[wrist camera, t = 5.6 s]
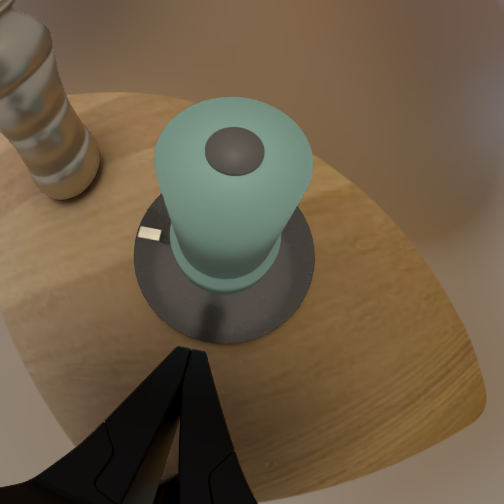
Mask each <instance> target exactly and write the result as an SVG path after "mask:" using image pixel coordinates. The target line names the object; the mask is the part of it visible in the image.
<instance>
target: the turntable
mask: <svg viewBox="0 0 504 504" xmlns="http://www.w3.org/2000/svg"><path fill="white" fill-rule="evenodd" d="M170 228H171V220H170V217H169V214H168V211H167V208H166V204H165V201H164V198H163V195H162V194H161V195H160V196H159V197H158V198H157V199H156V200H155V201H154V202H153V203H152V205H151V206H150V207H149V209H148V210H147V212H146V214H145V215H144V217H143V219H142V221H141V224H140V226H139V228H138V232H137V236H136V239H135V247H134V266H135V272H136V277H137V280H138V283H139V286H140V289H141V291H142V293H143V295H144V297H145V299H146V300H147V302H148V303H149V305H150V307H151V308H152V309H153V310H154V311H155V313H156V314H157V315H158V316H159V317H160V318H161V319H162V320H163V321H165V322H166V323H167V324H168V325H169V326H171V327H172V328H174V329H175V330H177V331H179V332H180V333H182V334H185V335H187V336H189V337H191V338H194V339H197V340H200V341H204V342H210V343H217V344H232V343H241V342H245V341H249V340H253V339H256V338H259V337H261V336H263V335H266V334H268V333H269V332H271V331H273V330H275V329H276V328H278V327H279V326H280V325H282V324H283V323H284V322H285V321H287V320H288V319H289V317H290V316H291V315H292V314H293V313H294V312H295V311H296V310H297V308H298V307H299V306H300V304H301V303H302V301H303V299H304V297H305V296H306V294H307V292H308V289H309V286H310V284H311V281H312V276H313V272H314V262H315V253H314V244H313V239H312V235H311V232H310V229H309V226H308V224H307V222H306V219H305V217H304V216H303V214H302V212H301V211H300V209H299V208H298V206H297V207H296V209H295V210H294V212H293V214H292V216H291V217H290V219H289V221H288V222H287V224H286V226H285V227H284V229H283V231H282V233H281V243H280V248H279V252H278V254H277V256H276V259H275V260H274V262H273V264H272V265H271V267H270V268H269V269H268V271H267V272H266V274H265V275H264V276H263V277H262V279H261V280H259V281H258V282H257V283H256V284H255V285H253V286H252V287H250V288H248V289H246V290H244V291H241V292H238V293H234V294H216V293H211V292H208V291H205V290H203V289H201V288H199V287H198V286H196V285H194V284H193V283H192V282H191V281H190V280H189V279H188V278H187V277H186V276H185V275H184V273H183V272H182V270H181V269H180V267H179V265H178V262H177V260H176V258H175V256H174V254H173V250H172V247H171V242H170Z"/></svg>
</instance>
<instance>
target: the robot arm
mask: <svg viewBox="0 0 504 504" xmlns="http://www.w3.org/2000/svg"><path fill="white" fill-rule="evenodd" d="M179 420H180V434H179V472H178V475H175V476H173V477H171V478H170V479H168V480H167V481H165V482H163V483H162V484H160V485H159V482H160V479H161V476H162V473H163V470H164V467H165V463H166V460H167V457H168V454H169V451H170V448H171V445H172V442H173V439H174V436H175V433H176V430H177V427H178V424H179ZM176 479H178V481H176ZM0 504H258V503H257V501H256V499H255V498H254V496H253V494H252V492H251V490H250V488H249V486H248V484H247V482H246V479H245V477H244V474H243V472H242V469H241V467H240V464H239V461H238V458H237V455H236V452H234V447H233V444H232V440H231V437H230V434H229V431H228V428H227V425H226V421H225V418H224V415H223V411H222V408H221V405H220V401H219V398H218V394H217V391H216V387H215V384H214V380H213V377H212V373H211V369H210V366H209V362H208V358H207V354H206V352H205V351H200V350H195V349H193V350H191V349H189V348H185V347H180V346H178V347H176V348H175V349H174V350H173V351H172V352H171V353H170V354H169V355H168V356H167V357H166V358H165V359H164V360H163V361H162V362H161V363H160V364H159V365H158V366H157V367H156V368H155V369H154V370H153V371H152V373H151V374H150V375H149V376H148V377H147V378H146V379H145V380H144V381H143V382H142V383H141V384H140V385H139V386H138V387H137V388H136V389H135V390H134V391H133V392H132V393H131V394H130V395H129V396H128V397H127V398H126V399H125V400H124V401H123V402H122V403H121V404H120V405H119V406H118V407H117V408H116V409H115V410H114V411H113V412H112V413H111V414H110V415H109V416H108V418H107V419H106V420H105V423H104V422H102V423H101V424H100V425H99V426H98V427H97V428H96V430H95V431H93V432H92V433H91V434H90V435H89V436H88V437H87V438H86V439H85V440H84V441H83V442H82V443H80V444H79V445H78V446H77V447H75V448H74V449H73V450H72V451H70V452H69V453H68V454H66V455H65V456H64V457H62V458H61V459H60V460H58V461H57V462H56V463H54V464H53V465H51V466H50V467H49V468H47V469H46V470H44V471H43V472H42V473H40V474H39V475H37V476H36V477H34V478H32V479H30V480H28V481H25V482H23V483H19V484H15V485H10V486H5V487H0Z"/></svg>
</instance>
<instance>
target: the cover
mask: <svg viewBox="0 0 504 504" xmlns="http://www.w3.org/2000/svg"><path fill="white" fill-rule="evenodd" d="M154 165H155V172H156V175H157V179H158V182H159V185H160V189H161V192H162V195H163V198H164V201H165V204H166V208H167V211H168V214H169V217H170V220H171V228H170V242H171V247H172V250H173V254H174V256H175V258H176V260H177V262H178V265H179V267H180V269H181V270H182V272H183V273H184V275H185V276H186V277H187V278H188V279H189V280H190V281H191V282H192V283H193V284H194V285H196V286H198V287H199V288H201V289H203V290H205V291H208V292H211V293H216V294H234V293H238V292H241V291H244V290H246V289H248V288H250V287H252V286H253V285H255V284H256V283H257V282H258V281H259V280H261V279H262V277H263V276H264V275H265V274H266V272H267V271H268V269H269V268H270V267H271V265H272V264H273V262H274V260H275V259H276V256H277V254H278V252H279V248H280V243H281V233H282V231H283V229H284V227H285V226H286V224H287V222H288V221H289V219H290V217H291V216H292V214H293V212H294V210H295V209H296V207H297V205H298V204H299V202H300V200H301V198H302V197H303V195H304V193H305V191H306V190H307V188H308V186H309V183H310V181H311V177H312V172H313V156H312V152H311V148H310V145H309V143H308V141H307V138H306V137H305V135H304V133H303V132H302V130H301V129H300V128H299V126H298V125H297V124H296V123H295V122H294V121H293V120H292V119H291V118H289V117H288V116H287V115H286V114H284V113H283V112H281V111H279V110H278V109H276V108H274V107H272V106H270V105H268V104H266V103H263V102H260V101H257V100H253V99H248V98H241V97H222V98H214V99H210V100H206V101H202V102H199V103H197V104H195V105H192V106H190V107H188V108H187V109H185V110H183V111H182V112H180V113H179V114H178V115H176V116H175V117H174V118H173V119H172V120H171V121H170V122H169V123H168V124H167V126H166V127H165V128H164V130H163V131H162V133H161V135H160V137H159V139H158V142H157V144H156V148H155V154H154Z"/></svg>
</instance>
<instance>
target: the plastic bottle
mask: <svg viewBox="0 0 504 504" xmlns="http://www.w3.org/2000/svg"><path fill="white" fill-rule="evenodd" d="M14 2H15V0H0V131H1V133H2V134H3V135H4V136H5V137H6V138H7V139H8V140H9V142H10V143H11V144H12V145H13V146H14V147H15V149H16V150H17V152H18V153H19V155H20V157H21V158H22V160H23V161H24V163H25V164H26V166H27V167H28V169H29V172H30V174H31V177H32V178H33V180H34V182H35V183H36V185H37V187H38V188H39V189H40V190H41V191H42V192H43V193H45V194H46V195H48V196H49V197H51V198H53V199H57V200H64V199H69V198H72V197H75V196H77V195H79V194H80V193H82V192H83V191H84V190H85V189H86V188H87V187H88V186H89V185H90V184H91V183H92V181H93V179H94V178H95V175H96V173H97V170H98V168H99V163H100V155H99V150H98V146H97V141H96V140H95V138H94V136H93V135H92V134H91V132H90V131H89V129H88V128H87V127H86V126H85V125H84V124H83V123H82V122H81V120H80V119H79V117H78V116H77V114H76V112H75V111H74V109H73V107H72V106H71V104H70V103H69V101H68V98H67V95H66V93H65V91H64V87H63V84H62V82H61V79H60V76H59V72H58V67H57V62H56V57H55V52H54V47H53V41H52V37H51V33H50V31H49V28H48V27H47V26H46V25H45V24H44V23H43V22H42V21H41V20H39V19H37V18H35V17H33V16H31V15H29V14H26V13H23V12H20V11H17V10H14V8H13V7H12V5H13V3H14Z"/></svg>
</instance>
